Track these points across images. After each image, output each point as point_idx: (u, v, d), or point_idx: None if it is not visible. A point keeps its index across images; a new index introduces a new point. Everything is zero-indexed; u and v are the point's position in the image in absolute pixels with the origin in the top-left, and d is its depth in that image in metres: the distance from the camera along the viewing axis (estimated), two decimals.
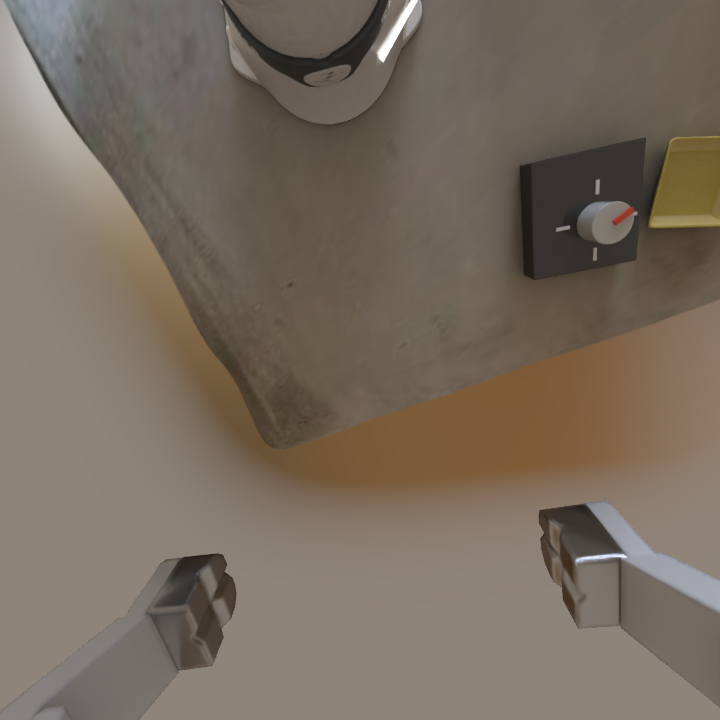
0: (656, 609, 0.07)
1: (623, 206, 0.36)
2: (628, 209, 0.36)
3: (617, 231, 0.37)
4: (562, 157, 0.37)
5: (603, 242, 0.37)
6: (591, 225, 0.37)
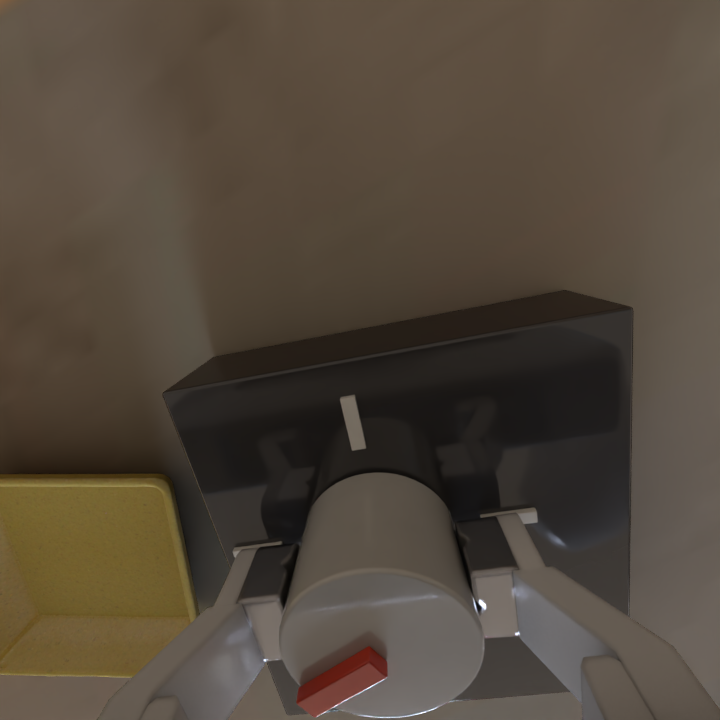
0: (541, 621, 0.07)
1: (349, 704, 0.08)
2: (326, 705, 0.07)
3: (346, 621, 0.07)
4: (526, 693, 0.12)
5: (407, 579, 0.07)
6: (484, 639, 0.07)
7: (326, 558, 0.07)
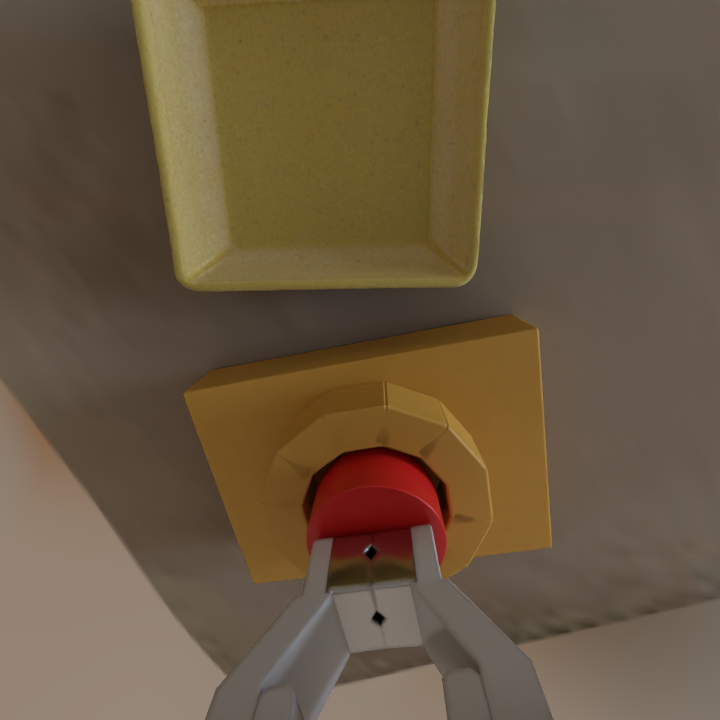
0: (433, 633, 0.07)
1: None
2: None
3: None
4: None
5: None
6: None
7: None
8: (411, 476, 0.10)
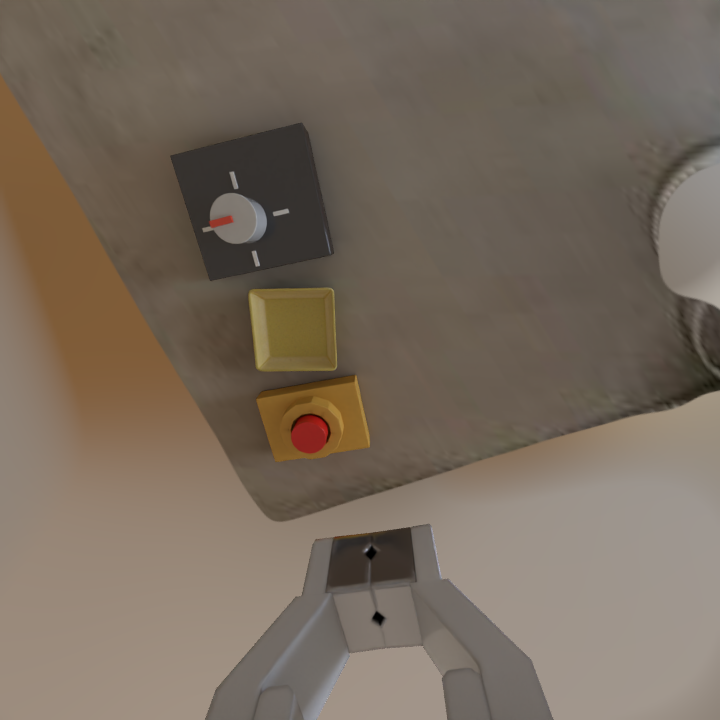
0: (432, 632, 0.07)
1: (219, 232, 0.31)
2: (215, 227, 0.31)
3: (229, 206, 0.31)
4: (309, 162, 0.32)
5: (246, 200, 0.30)
6: (256, 228, 0.31)
7: None
8: (317, 421, 0.38)
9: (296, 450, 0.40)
